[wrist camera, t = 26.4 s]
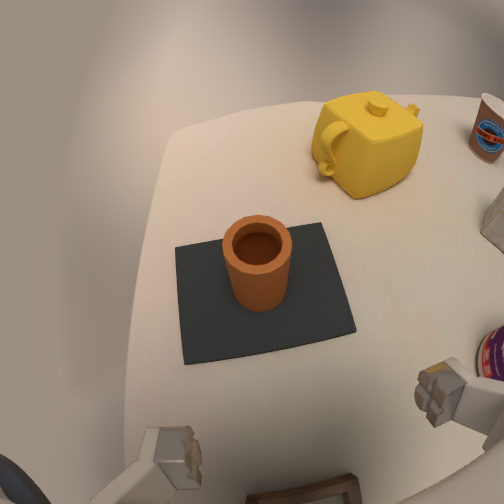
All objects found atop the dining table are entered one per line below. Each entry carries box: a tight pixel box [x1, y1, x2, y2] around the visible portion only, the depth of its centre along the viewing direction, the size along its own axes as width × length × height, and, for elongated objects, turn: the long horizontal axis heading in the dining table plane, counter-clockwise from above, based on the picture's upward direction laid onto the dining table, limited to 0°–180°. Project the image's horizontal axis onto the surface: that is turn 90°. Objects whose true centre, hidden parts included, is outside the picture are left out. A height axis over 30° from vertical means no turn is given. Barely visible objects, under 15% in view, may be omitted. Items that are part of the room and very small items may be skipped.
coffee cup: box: [469, 93, 504, 163], centre depth 39 cm, size 10×10×12 cm
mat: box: [175, 222, 357, 365], centre depth 32 cm, size 18×14×1 cm
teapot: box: [312, 91, 423, 199], centre depth 37 cm, size 20×12×12 cm, turn 119°
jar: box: [222, 215, 292, 312], centre depth 28 cm, size 6×6×9 cm
